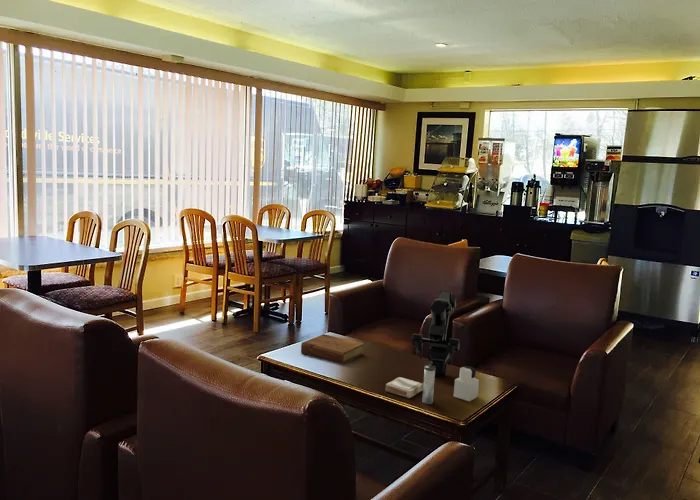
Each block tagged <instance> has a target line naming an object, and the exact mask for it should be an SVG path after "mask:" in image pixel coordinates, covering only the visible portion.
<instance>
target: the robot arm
mask: <svg viewBox="0 0 700 500" xmlns="http://www.w3.org/2000/svg"><path fill="white" fill-rule="evenodd" d="M429 308H430V314H431V315H430V316H431V324H430V325H429V328H428V338H425V337H423V334H421V333H420V334H419V333H413V334H412V336H411V345H412V347H415V348H416V349H417V350H418V354H419V360H420V361H422V359H423V345H424V344H428V345H430V346H429V347H428V362H429V361H430V362H429V363H428V365H433V366H435V367H436V369H435V378H437V377H448V374H447V364H448V363H450V361H451V355H453V354H455V353H457V352H458V353H459V351H460V340H459V339H458V338H453V337H452V338H451V337H449V338H448V340H447V333H448V326H449V320H450V317H451V316H452V315H453V314H454V309H456V308H457V297H456V296H455V295H454V294H453V292H452V291H451V290H445V289H442V290H440V293H439V294H438V295H437V298H435V299H434V300H433V301H432V302H431V304H430V307H429Z"/></svg>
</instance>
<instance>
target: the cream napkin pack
mask: <svg viewBox="0 0 700 500" xmlns="http://www.w3.org/2000/svg"><path fill="white" fill-rule="evenodd" d="M423 383H424V382H419V381H415V380H412V379H408V378H405V377H401V376H398V377H396V378H395V379H393V380H391V381H390V382H387V383H386V384H385V390H384V392H388V393H391V394H394V395H397V396H401V397H404V398H407V399H411V398H412V397H414V396H416V395H417V394H419V393H420V392H423Z"/></svg>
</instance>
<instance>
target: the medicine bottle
mask: <svg viewBox="0 0 700 500" xmlns="http://www.w3.org/2000/svg"><path fill="white" fill-rule="evenodd" d="M479 384H480V380H479V379H477V378H476V368H474V367H472V366H470V365H469V366H468V365H464V366H461V367H460V368H459V377H457V378H455V379H454V384H453V385H454V386H453V397H454V398H457V399H461V400H463V401H466V402H471V401H473V400H475V399H476V398H478V397H479Z"/></svg>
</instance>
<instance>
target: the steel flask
mask: <svg viewBox="0 0 700 500" xmlns="http://www.w3.org/2000/svg"><path fill="white" fill-rule="evenodd" d="M423 367H424V368H423V369H424V371H423V372H424V373H423V382H422V383H423V390H422V397H421V399H422V400H421V402H422V403H423V404H426V405H432V404H433V403H434V400H433V399H434V390H435V378H436V377H435V369H436V367H435V366H433V365H429V364H424V366H423Z"/></svg>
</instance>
